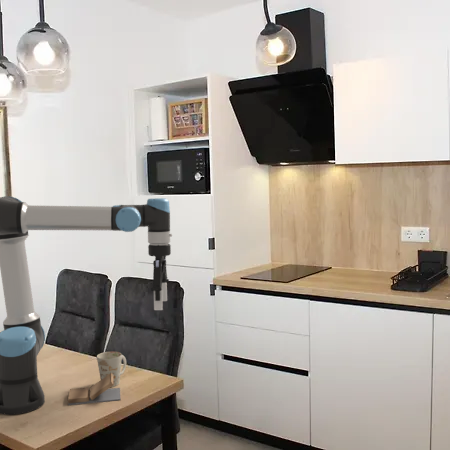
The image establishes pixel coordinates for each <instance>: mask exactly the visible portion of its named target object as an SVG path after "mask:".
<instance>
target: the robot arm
mask: <svg viewBox="0 0 450 450" xmlns="http://www.w3.org/2000/svg"><path fill="white" fill-rule="evenodd" d="M146 201H147V202H146V204H119V205H118V204H117V205H112V206H97V205H96V206H95V205H92V206H88V205H87V206H85V205H83V206H82V205H80V206H79V205H30V204H28V203H27V202H25V201H21V200H20V199H19V198H16V197H13V196H11V195H9V196H1V197H0V277H1V283H2V290H3V298H4V303H5V311H6V318H5V319H4V320H3V322H2V323H3V324H2V325H3V330H1V331H0V415H7V416H8V415H21V414H26V413H30V412H32V411H35V410H37V409H39V408H41V407H42V406H43V405H44V404H45V402H46V399H45V393H44V391H43V388H42V386H41V383H40V381H39V378H38V377H39V376H38V362H37V358H38V355H39V354H40V352H41V350H42V349H43V346H44V344H45V340H46V334H45V330H44V328H43V326H42V323H41V316H40V314H39V313H37V312H35V308H34V301H33V292H32V287H31V279H30V273H29V272H30V271H29V265H28V257H27V250H26V240H27V238H28V237H29V236H30V235H29V231H117V232H118V231H119V232H120V231H121V232H125V233H131V232H134V231H136V230H137V229H138V228H142V227H143V228H145V227H147V243H148V245H147V248H148V251H147V252H148V253H147V254H148V255H149V256H151V257H154V260H153V263H152V264H153V271H152V272H153V275H152V277H153V278H152V288H150V289H151V290H150V291H151V292H153V310H154V311H163V310H164V309H163V302H167V301H168V287H167V286H168V284H167V283H169V282H170V279H168V274H167V259H166V258H167V257H168V256H170V255H171V252H172V251H171V250H172V249H171V247H172V245H171V244H170V243H171V237H172V236H173V234H172V233H171V210H170V209H171V207H170V201H169V200H168V198H163V197H161V198H159V197H157V198H156V197H154V198H148V199H147V200H146Z"/></svg>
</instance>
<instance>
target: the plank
mask: <svg viewBox="0 0 450 450" xmlns="http://www.w3.org/2000/svg"><path fill="white" fill-rule="evenodd" d="M113 385H114V382H113V374H112V373H110V374H109V375H107V376H106V377H104V378H103V379H102V380H101V379H100V380H99V381H97V382H96V383H94V384H93V385H92V386H90V389H89V390H90V398H91V399H92V400H93V399H95V398H96V397H97V396H99V395H100V394H102V393H103V392H104V391H106V390H107V389H111V388H112V386H113ZM113 387H114V386H113Z"/></svg>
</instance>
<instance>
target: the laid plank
mask: <svg viewBox="0 0 450 450" xmlns="http://www.w3.org/2000/svg"><path fill="white" fill-rule="evenodd" d="M90 390H91V389H89V387H79V388H69V392H68V398H67V399H68V400H67V404H68V403H78V402H88V401H89V397H90Z"/></svg>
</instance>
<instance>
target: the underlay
mask: <svg viewBox="0 0 450 450" xmlns="http://www.w3.org/2000/svg"><path fill="white" fill-rule="evenodd" d="M116 401H118V402H119V401H121V387H114V388H112V387H110V388H109V389H107V390H106V391H104V392H103V393H102V394H100V395H99V396H97V397H96V398H95V399H93V400H92V399H91V398H90V397H89V401H88V402H78V403H68V402H67V405H68V406H73V405H76V406H77V405H86V404H95V403H96V404H97V403H104V402H106V403H108V402H116Z"/></svg>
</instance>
